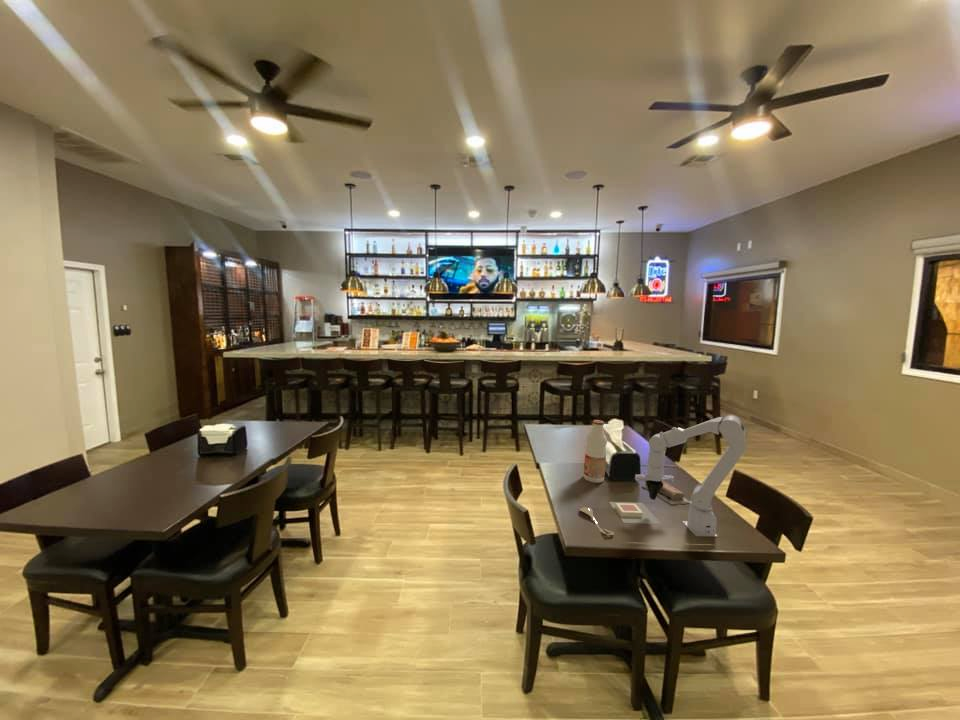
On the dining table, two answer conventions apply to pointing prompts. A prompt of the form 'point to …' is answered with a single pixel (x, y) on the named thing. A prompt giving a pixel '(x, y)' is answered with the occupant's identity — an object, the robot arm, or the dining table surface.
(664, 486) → the packaged product
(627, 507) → the deck
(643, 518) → the mat
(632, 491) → the dining table surface
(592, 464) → the fruit juice
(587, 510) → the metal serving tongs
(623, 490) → the dining table surface
